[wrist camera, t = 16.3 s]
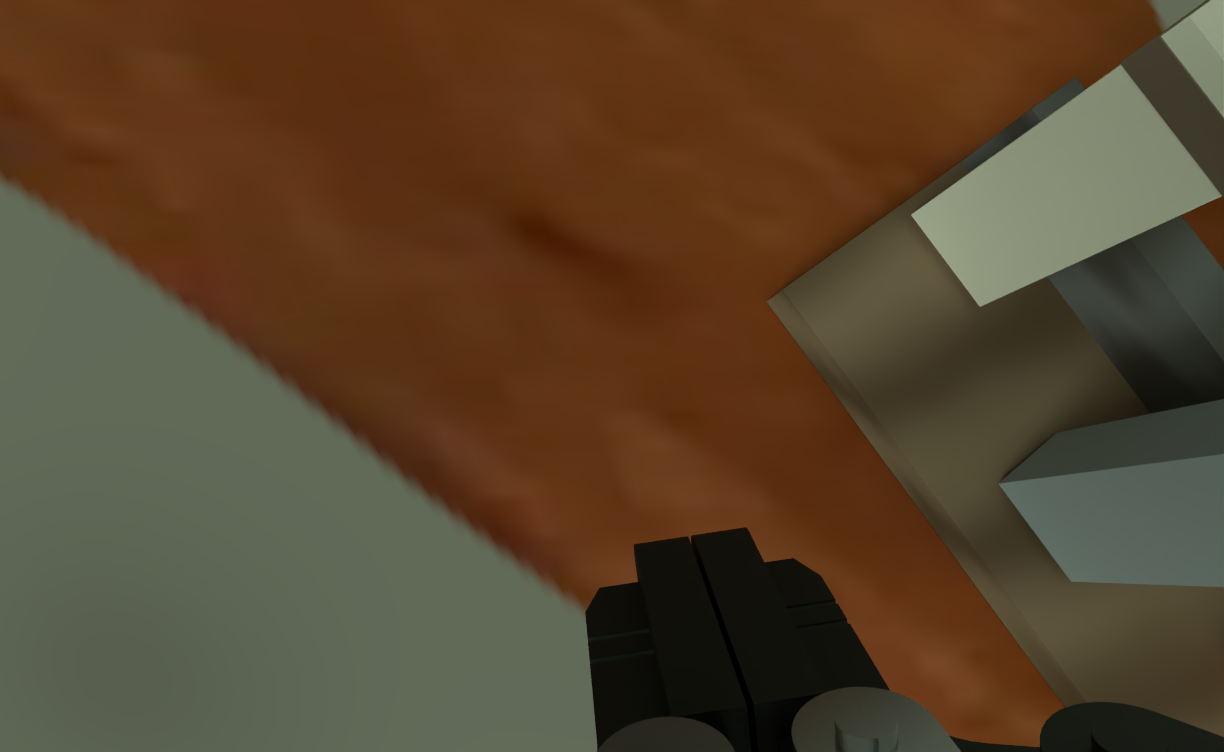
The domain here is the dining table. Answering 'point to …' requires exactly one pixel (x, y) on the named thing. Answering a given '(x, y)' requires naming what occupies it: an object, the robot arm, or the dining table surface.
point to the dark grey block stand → (1029, 421)
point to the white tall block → (1093, 166)
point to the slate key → (1131, 498)
